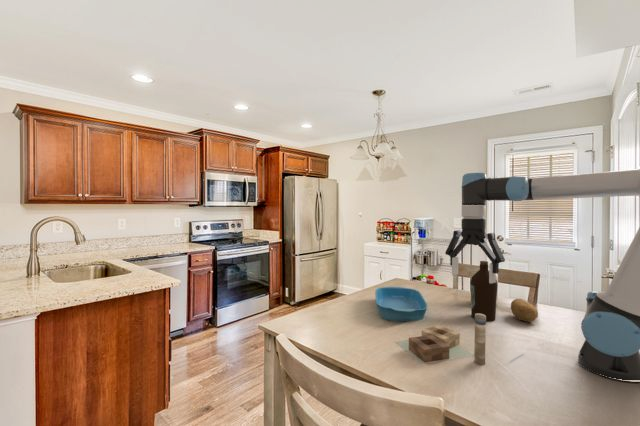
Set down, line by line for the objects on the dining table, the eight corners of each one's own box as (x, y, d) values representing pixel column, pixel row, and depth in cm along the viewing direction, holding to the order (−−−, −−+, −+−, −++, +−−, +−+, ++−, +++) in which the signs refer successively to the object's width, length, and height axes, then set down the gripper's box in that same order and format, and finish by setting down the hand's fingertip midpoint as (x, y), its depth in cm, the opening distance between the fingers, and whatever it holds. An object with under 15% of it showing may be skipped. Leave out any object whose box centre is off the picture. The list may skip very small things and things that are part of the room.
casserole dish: (432, 328, 127) (432, 310, 127) (376, 324, 131) (376, 307, 131) (417, 300, 164) (417, 287, 164) (374, 298, 167) (374, 285, 167)
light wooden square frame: (459, 344, 109) (459, 332, 109) (444, 351, 104) (444, 339, 104) (436, 335, 117) (436, 324, 116) (421, 341, 111) (421, 330, 111)
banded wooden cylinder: (487, 368, 96) (488, 316, 95) (479, 369, 95) (480, 317, 94) (479, 363, 99) (480, 312, 98) (471, 364, 98) (472, 313, 97)
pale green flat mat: (475, 359, 101) (475, 355, 101) (421, 367, 96) (421, 364, 96) (443, 338, 116) (443, 335, 116) (395, 345, 111) (395, 341, 111)
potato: (518, 325, 130) (518, 306, 129) (505, 313, 143) (505, 296, 143) (544, 327, 128) (545, 307, 127) (529, 315, 141) (529, 297, 141)
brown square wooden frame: (449, 358, 99) (449, 346, 99) (424, 362, 97) (424, 349, 96) (431, 346, 108) (432, 334, 107) (408, 349, 105) (408, 337, 105)
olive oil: (495, 315, 141) (496, 260, 140) (498, 323, 131) (499, 264, 130) (469, 312, 145) (470, 258, 144) (470, 320, 135) (470, 262, 135)
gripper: (517, 218, 100) (516, 284, 101) (448, 216, 121) (447, 271, 122) (505, 219, 96) (504, 288, 97) (435, 217, 117) (435, 273, 117)
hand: (472, 278), depth 109 cm, fingers open, 13 cm apart
